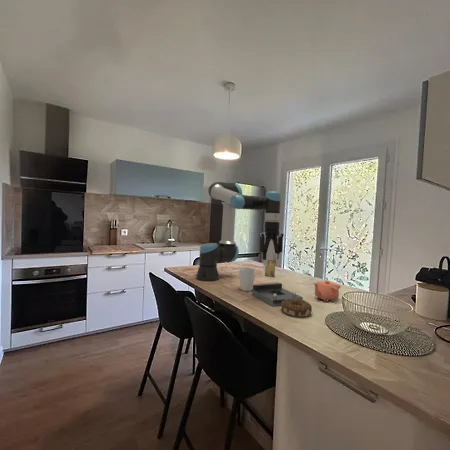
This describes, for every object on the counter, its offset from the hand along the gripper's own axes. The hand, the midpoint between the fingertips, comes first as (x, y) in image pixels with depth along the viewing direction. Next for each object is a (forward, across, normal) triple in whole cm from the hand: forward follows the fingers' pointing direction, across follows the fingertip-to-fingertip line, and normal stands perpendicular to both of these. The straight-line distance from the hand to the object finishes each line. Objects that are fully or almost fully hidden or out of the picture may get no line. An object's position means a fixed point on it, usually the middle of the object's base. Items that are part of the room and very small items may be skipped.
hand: (270, 265), depth 140 cm
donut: (+18, +2, -20) cm, 27 cm away
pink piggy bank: (+18, +30, -9) cm, 36 cm away
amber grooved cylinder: (+5, 0, 0) cm, 5 cm away
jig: (+17, +4, -1) cm, 18 cm away
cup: (+17, -4, +19) cm, 26 cm away
